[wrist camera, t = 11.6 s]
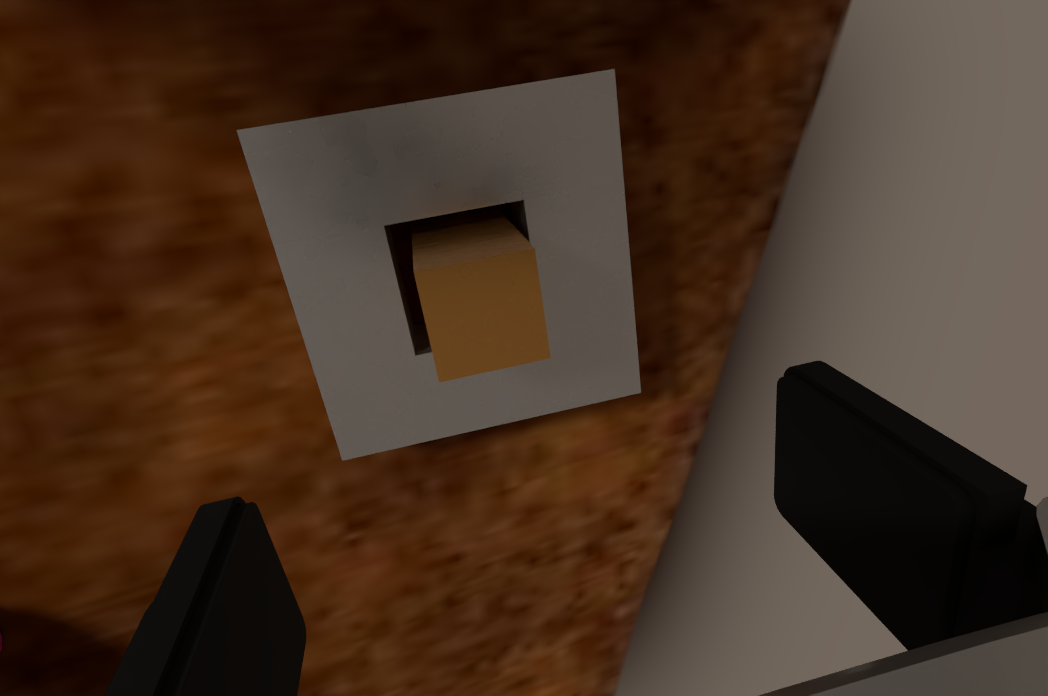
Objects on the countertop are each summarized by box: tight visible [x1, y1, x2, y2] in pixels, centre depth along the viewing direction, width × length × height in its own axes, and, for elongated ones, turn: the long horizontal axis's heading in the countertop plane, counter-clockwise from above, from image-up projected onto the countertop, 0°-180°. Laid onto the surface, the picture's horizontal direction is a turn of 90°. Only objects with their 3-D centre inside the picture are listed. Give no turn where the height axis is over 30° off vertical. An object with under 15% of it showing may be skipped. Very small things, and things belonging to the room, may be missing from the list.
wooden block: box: [411, 207, 551, 382], centre depth 24 cm, size 4×4×9 cm
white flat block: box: [237, 69, 641, 461], centre depth 27 cm, size 14×14×4 cm
